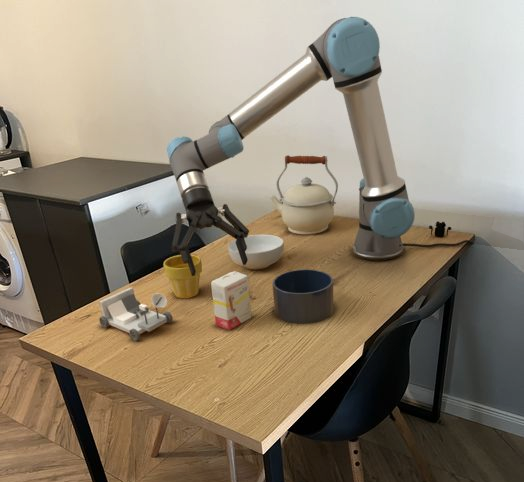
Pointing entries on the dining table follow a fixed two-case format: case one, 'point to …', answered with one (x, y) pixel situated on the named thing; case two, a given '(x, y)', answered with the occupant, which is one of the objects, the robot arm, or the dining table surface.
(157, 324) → the toy car
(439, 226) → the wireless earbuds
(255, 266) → the cereal bowl
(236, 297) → the ink box
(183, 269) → the flower pot
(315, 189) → the kettle
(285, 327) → the dining table surface
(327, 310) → the dark blue round tub
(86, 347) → the dining table surface
